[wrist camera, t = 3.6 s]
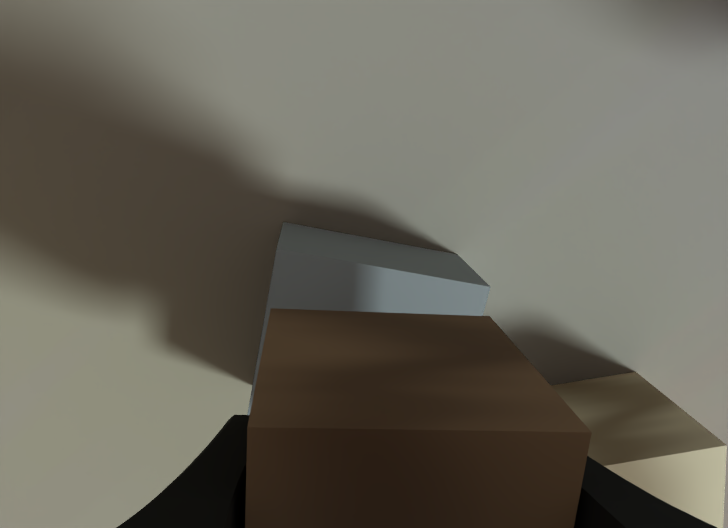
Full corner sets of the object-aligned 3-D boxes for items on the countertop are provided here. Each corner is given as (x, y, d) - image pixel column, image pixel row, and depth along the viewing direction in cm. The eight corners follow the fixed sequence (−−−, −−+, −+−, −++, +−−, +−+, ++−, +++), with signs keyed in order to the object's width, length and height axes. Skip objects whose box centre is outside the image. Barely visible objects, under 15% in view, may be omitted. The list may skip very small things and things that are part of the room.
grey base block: (456, 253, 20) (490, 286, 16) (416, 407, 21) (440, 472, 17) (283, 220, 19) (276, 248, 15) (254, 383, 21) (241, 446, 17)
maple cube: (634, 370, 22) (726, 445, 17) (634, 484, 23) (720, 583, 18) (504, 391, 21) (560, 473, 17) (512, 505, 23) (566, 611, 18)
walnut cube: (489, 316, 13) (592, 432, 8) (464, 503, 15) (541, 696, 10) (270, 308, 13) (247, 426, 8) (264, 502, 14) (241, 707, 9)
